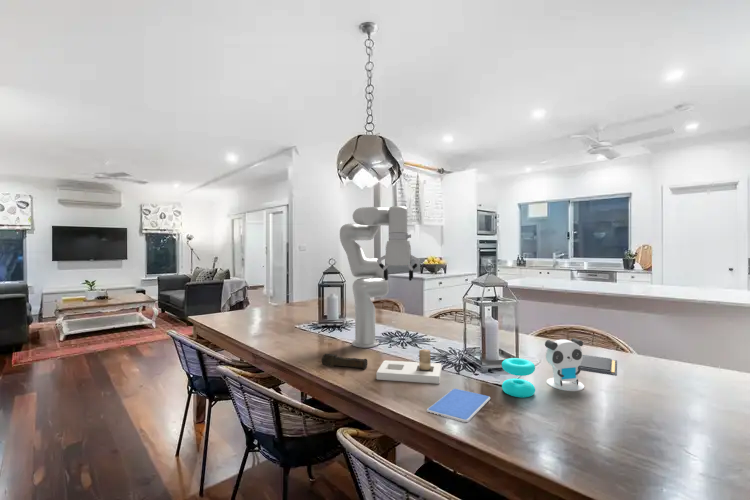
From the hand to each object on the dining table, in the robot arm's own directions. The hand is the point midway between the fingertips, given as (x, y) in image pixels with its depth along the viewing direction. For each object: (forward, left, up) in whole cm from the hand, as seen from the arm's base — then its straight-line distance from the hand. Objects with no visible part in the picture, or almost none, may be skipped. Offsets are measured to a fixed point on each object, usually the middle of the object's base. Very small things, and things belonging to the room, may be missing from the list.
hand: (398, 280), depth 153 cm
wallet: (-11, +75, -34) cm, 83 cm away
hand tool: (+9, -21, -34) cm, 41 cm away
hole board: (+13, +6, -33) cm, 36 cm away
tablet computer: (+36, +24, -34) cm, 55 cm away
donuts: (+23, +42, -34) cm, 58 cm away
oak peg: (+13, +11, -33) cm, 37 cm away
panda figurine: (+13, +58, -34) cm, 68 cm away
